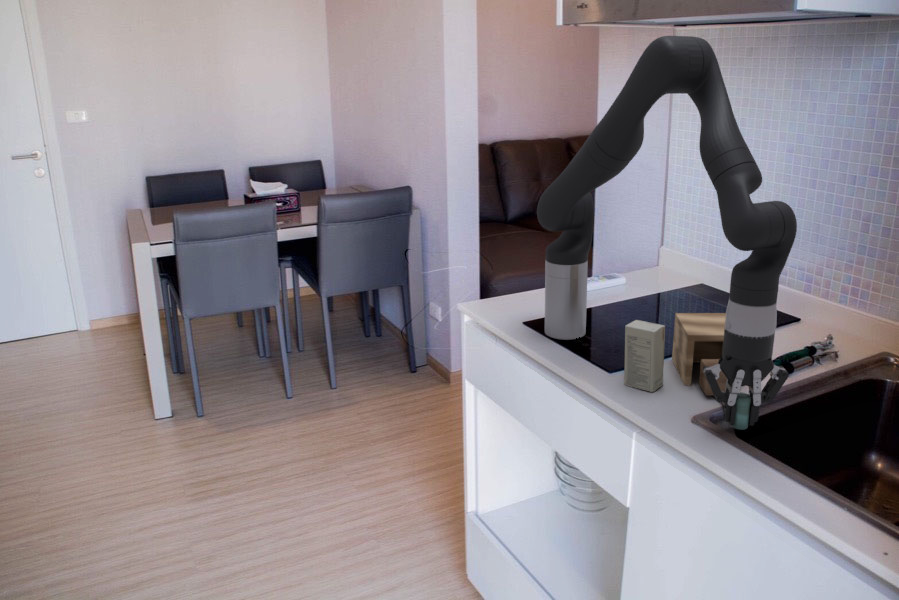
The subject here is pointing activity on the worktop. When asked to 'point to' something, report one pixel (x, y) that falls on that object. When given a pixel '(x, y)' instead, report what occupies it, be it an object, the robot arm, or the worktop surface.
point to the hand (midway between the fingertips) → (739, 422)
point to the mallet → (741, 400)
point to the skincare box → (644, 355)
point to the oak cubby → (696, 340)
